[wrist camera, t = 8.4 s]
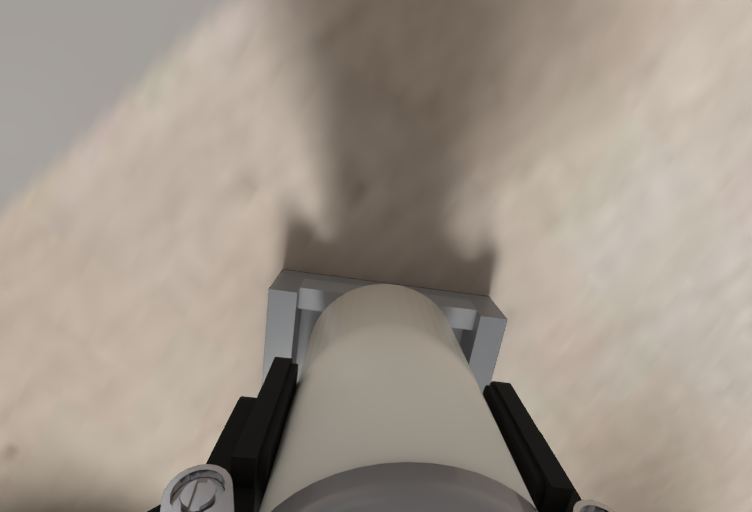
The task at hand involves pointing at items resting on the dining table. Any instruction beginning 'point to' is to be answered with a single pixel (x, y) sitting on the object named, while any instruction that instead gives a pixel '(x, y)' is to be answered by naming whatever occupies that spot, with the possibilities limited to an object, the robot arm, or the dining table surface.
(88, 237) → the dining table surface
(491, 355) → the lane
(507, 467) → the jar
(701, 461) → the dining table surface
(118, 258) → the dining table surface
